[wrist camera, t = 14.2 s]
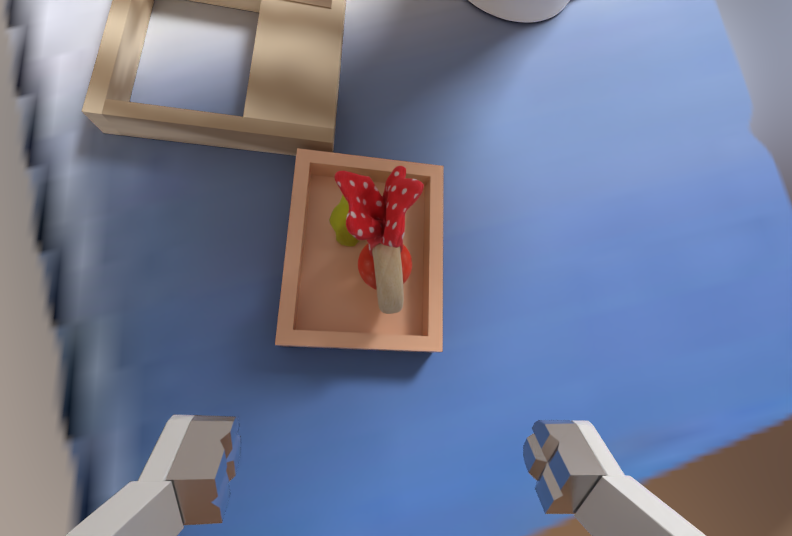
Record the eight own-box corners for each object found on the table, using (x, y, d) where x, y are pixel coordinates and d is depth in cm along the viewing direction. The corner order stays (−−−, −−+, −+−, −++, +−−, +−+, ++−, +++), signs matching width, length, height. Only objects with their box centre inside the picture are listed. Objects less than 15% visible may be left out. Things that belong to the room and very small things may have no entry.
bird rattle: (419, 283, 30) (403, 169, 29) (481, 327, 20) (463, 150, 18) (343, 299, 29) (321, 181, 27) (365, 354, 18) (333, 167, 17)
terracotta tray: (299, 165, 30) (297, 148, 27) (434, 180, 31) (443, 165, 29) (280, 346, 26) (274, 344, 24) (432, 352, 28) (442, 351, 25)
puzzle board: (158, -81, 33) (144, -117, 30) (349, -42, 35) (351, -72, 33) (103, 132, 28) (80, 110, 25) (332, 160, 30) (332, 142, 28)
